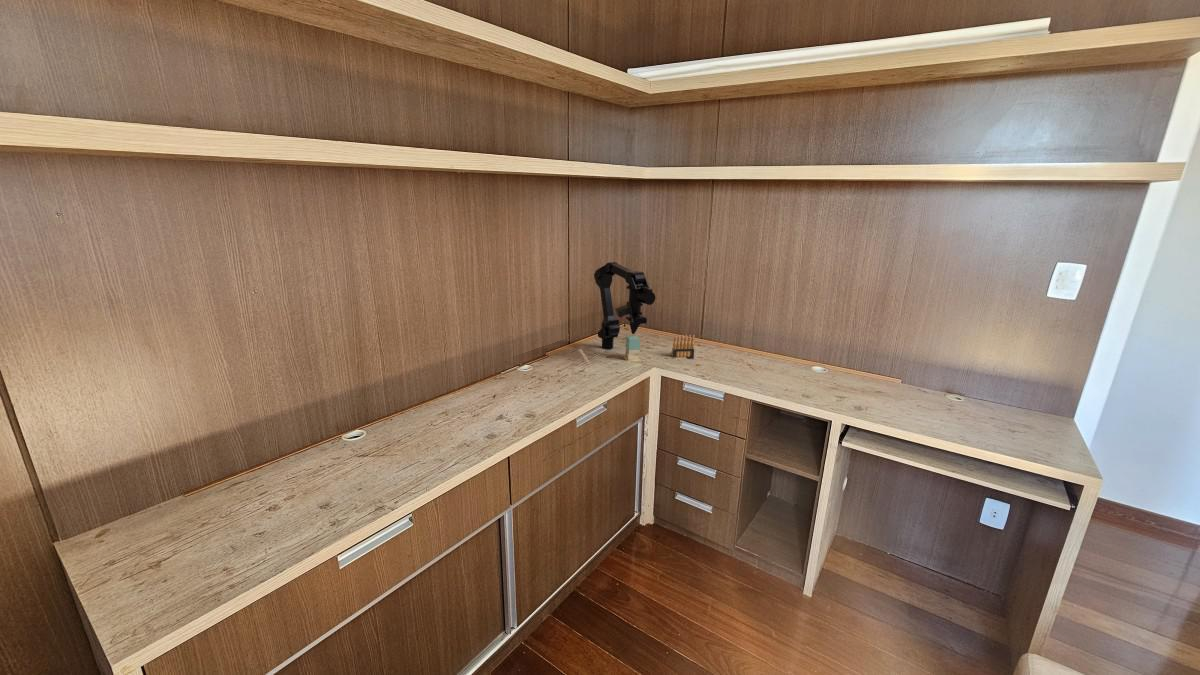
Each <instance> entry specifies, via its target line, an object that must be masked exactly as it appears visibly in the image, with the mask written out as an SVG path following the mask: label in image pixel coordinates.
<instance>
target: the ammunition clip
mask: <svg viewBox="0 0 1200 675" xmlns="http://www.w3.org/2000/svg"><path fill="white" fill-rule="evenodd" d="M670 356H671V358H675V359H676V358H686V359H687V360H695V359H694V358H695V357H694V356H695V334H692V337H691V334H689V335H687V334H685V336H684V334H682V335H680V334H678V336H677V334H674V337H673V342H672V350H671V355H670Z"/></svg>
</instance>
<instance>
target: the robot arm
mask: <svg viewBox="0 0 1200 675" xmlns="http://www.w3.org/2000/svg"><path fill="white" fill-rule="evenodd" d="M615 275H617V276H619V277H620V278H623V279H624V280H625V282H626V283H627V284H628V285H627V286H626V288H625V289H627V290H629V291H628V301H627V302H626V304H625V305H622V306H621V305H620V306H619V307H616V308H615V310H614V307H613V306H614V305H613V298H612V292H611V291H612V290H611V285H612V282H613V277H614V276H615ZM593 278H594V280H595V281H594V282H595V284H596V286H597V287H598V289H599V292H600V300H601V308H602V314H603V315H602V316H603V320H602V322H601V329H600V330H598V332H597V336H598V338H600V339H601V348H602V349H604V350H607V351H608V350H611V351H612V350H613V349H614V338H618V337H619V334H620V331H621V326H620V320H619V319H617V318H616V316H617V317H618V318H623V317H624V316H626V317H625V319H626V320H627V321H628V322H629V327H630V330H631V331H630V332H631V334H632V335H635V334H636V332H637V330H638V329H639V327H640V325H641V324H642V325H643V324H647V323H648V318H647V317H646V316H644V315H643V312H642V307H643V305H648V306H651V305H653V304H654V303H655V301H656V294H655V292H653V288H650V286H649V282H648V280H647V278H646V275H645V273H644V272H643V271H639V270H631V269H629V268H627V267H625V266H623V265H621V264H619V263H618V262H616V261H612V262H609V261H608V262H607V263H605V264H604V265H603V266H601V267H599V268H597V269H596V270H595V271H594V274H593ZM614 311H615V313H616V316H615V313H614Z"/></svg>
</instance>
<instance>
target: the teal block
mask: <svg viewBox="0 0 1200 675" xmlns="http://www.w3.org/2000/svg"><path fill="white" fill-rule="evenodd" d="M640 347H641V338H640V337H639V336H637V335H634V336H633V335H632V336H631V335H629V336H626V338H625V349H626V348H627V349H628V350H639V351H640Z"/></svg>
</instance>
